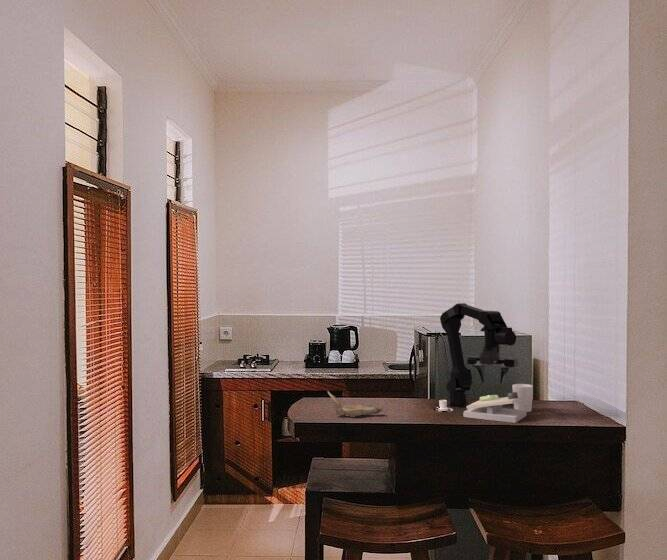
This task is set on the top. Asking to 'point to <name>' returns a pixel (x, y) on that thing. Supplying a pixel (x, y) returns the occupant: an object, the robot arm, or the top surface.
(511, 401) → the instrument plate
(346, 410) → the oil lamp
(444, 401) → the teacup and saucer
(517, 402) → the white cup
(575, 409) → the top surface
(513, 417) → the instrument base
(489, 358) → the robot arm
